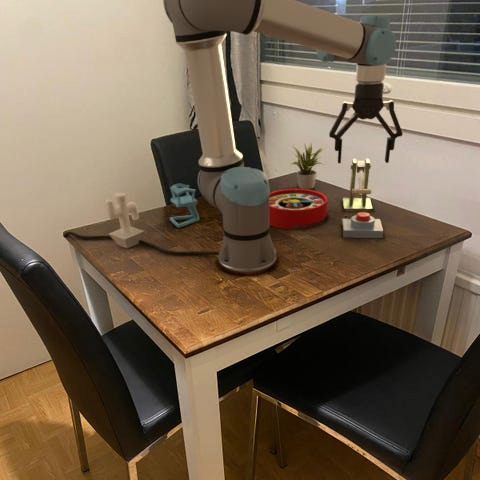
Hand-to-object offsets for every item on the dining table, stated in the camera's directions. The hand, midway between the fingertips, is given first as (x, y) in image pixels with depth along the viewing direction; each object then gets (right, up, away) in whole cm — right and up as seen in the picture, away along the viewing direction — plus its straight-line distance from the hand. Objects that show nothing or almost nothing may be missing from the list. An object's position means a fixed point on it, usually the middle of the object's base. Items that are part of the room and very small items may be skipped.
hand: (362, 161), depth 144 cm
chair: (-53, -15, +12) cm, 57 cm away
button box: (0, -21, 0) cm, 21 cm away
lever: (+1, -3, +8) cm, 9 cm away
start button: (-1, -17, -2) cm, 18 cm away
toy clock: (-19, -14, +11) cm, 26 cm away
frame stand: (+2, -9, +17) cm, 20 cm away
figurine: (-68, -25, -1) cm, 73 cm away
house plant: (-11, 0, +33) cm, 34 cm away
